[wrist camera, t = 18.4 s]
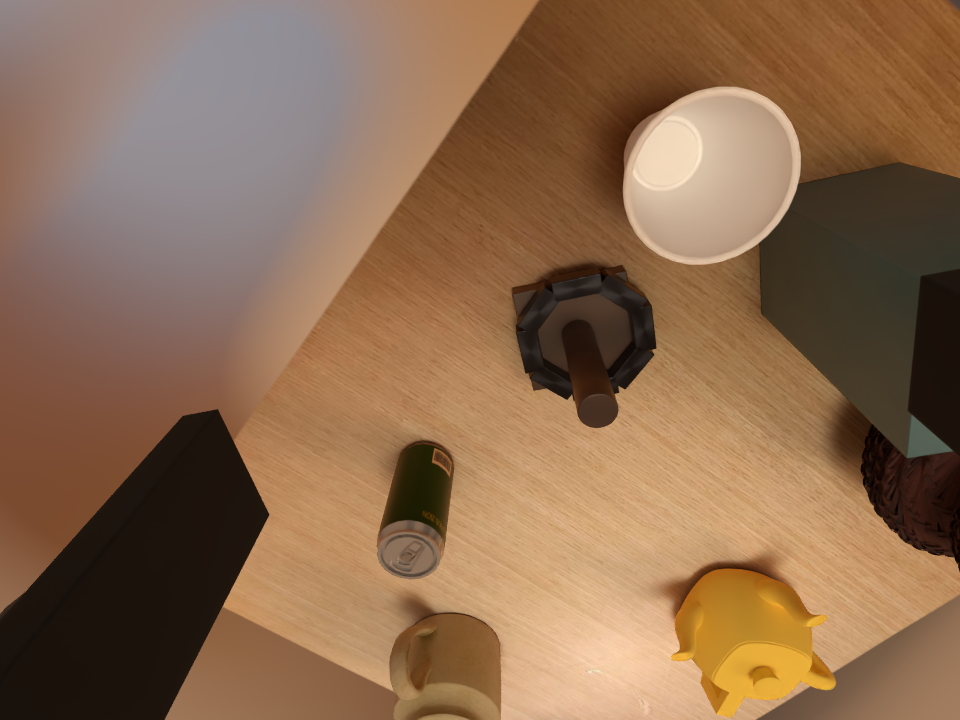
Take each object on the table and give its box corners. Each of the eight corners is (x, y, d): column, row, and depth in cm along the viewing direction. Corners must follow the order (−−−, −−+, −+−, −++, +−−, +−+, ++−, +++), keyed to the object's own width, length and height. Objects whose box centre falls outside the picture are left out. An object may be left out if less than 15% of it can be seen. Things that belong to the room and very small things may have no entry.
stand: (758, 192, 45) (924, 281, 27) (900, 162, 44) (1173, 234, 26) (761, 313, 49) (907, 458, 32) (890, 289, 48) (1119, 426, 30)
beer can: (418, 429, 56) (397, 518, 45) (465, 458, 57) (457, 551, 46) (387, 467, 58) (361, 560, 47) (434, 494, 59) (418, 591, 48)
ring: (506, 285, 48) (506, 292, 46) (642, 257, 46) (646, 263, 45) (532, 399, 52) (533, 408, 51) (656, 376, 51) (661, 385, 49)
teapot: (781, 536, 60) (829, 619, 51) (810, 623, 65) (858, 712, 56) (647, 576, 63) (671, 661, 54) (685, 656, 68) (712, 746, 59)
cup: (575, 123, 43) (595, 143, 34) (708, 51, 41) (773, 49, 31) (627, 243, 47) (659, 292, 37) (752, 183, 45) (822, 218, 35)
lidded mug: (357, 635, 69) (322, 776, 55) (411, 580, 64) (387, 718, 51) (463, 690, 72) (454, 834, 59) (521, 641, 68) (525, 784, 55)
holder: (512, 287, 49) (515, 362, 37) (622, 265, 48) (662, 335, 36) (532, 382, 53) (541, 478, 41) (635, 363, 52) (675, 456, 40)
